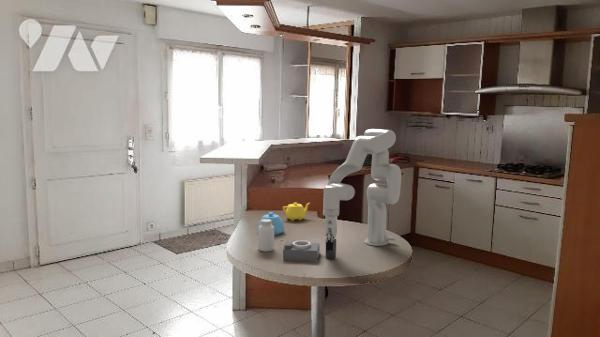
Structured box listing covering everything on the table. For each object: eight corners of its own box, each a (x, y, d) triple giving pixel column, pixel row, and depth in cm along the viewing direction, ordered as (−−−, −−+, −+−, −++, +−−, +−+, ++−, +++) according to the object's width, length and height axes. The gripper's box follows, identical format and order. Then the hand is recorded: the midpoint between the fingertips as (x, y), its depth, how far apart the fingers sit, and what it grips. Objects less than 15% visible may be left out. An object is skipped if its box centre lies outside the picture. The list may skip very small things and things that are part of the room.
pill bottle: (268, 252, 228) (267, 223, 226) (255, 250, 232) (254, 220, 230) (277, 248, 235) (277, 219, 232) (264, 246, 239) (264, 217, 237)
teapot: (307, 216, 302) (307, 200, 301) (312, 220, 292) (312, 203, 290) (280, 218, 298) (280, 201, 296) (284, 222, 287) (284, 205, 286)
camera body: (319, 253, 228) (319, 240, 227) (316, 261, 216) (316, 247, 215) (287, 251, 230) (287, 238, 229) (282, 259, 218) (282, 245, 217)
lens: (336, 256, 223) (336, 237, 222) (335, 259, 218) (335, 240, 217) (325, 255, 224) (326, 237, 222) (325, 259, 219) (325, 240, 217)
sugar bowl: (268, 237, 254) (268, 217, 252) (252, 232, 265) (252, 212, 263) (289, 232, 264) (289, 212, 262) (273, 227, 275) (273, 208, 273)
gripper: (337, 216, 209) (336, 253, 211) (340, 208, 226) (339, 242, 228) (321, 215, 210) (320, 252, 212) (324, 207, 227) (323, 241, 229)
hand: (330, 247), depth 220 cm, fingers open, 9 cm apart
